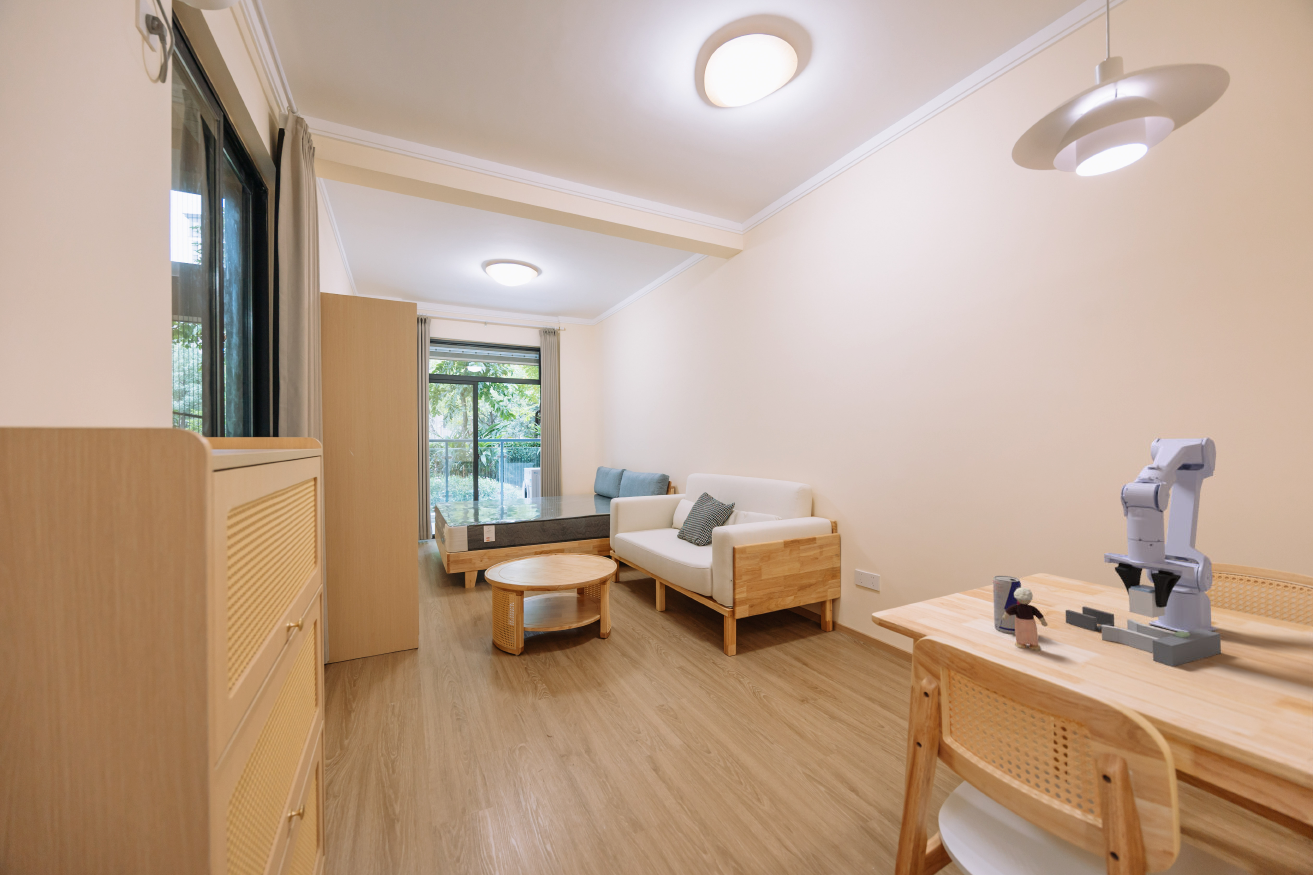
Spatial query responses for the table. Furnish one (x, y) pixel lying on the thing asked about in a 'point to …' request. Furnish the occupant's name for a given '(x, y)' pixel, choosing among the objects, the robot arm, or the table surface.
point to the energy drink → (1004, 602)
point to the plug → (1144, 601)
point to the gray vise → (1090, 618)
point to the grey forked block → (1166, 642)
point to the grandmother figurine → (1025, 619)
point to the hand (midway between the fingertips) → (1147, 603)
